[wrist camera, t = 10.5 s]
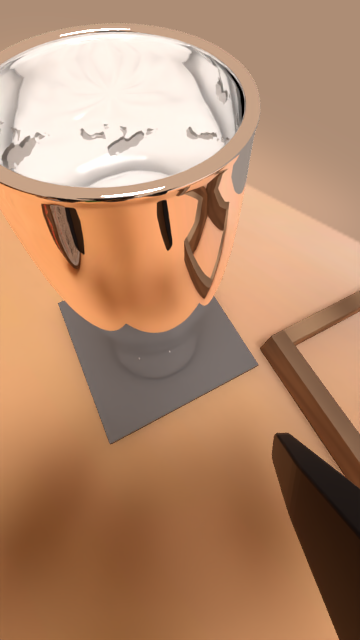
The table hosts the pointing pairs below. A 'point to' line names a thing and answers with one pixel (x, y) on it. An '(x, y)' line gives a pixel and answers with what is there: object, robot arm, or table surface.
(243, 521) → the table surface
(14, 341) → the table surface
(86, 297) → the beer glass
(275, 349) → the brown square tray
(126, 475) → the table surface
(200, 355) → the rubber mat
